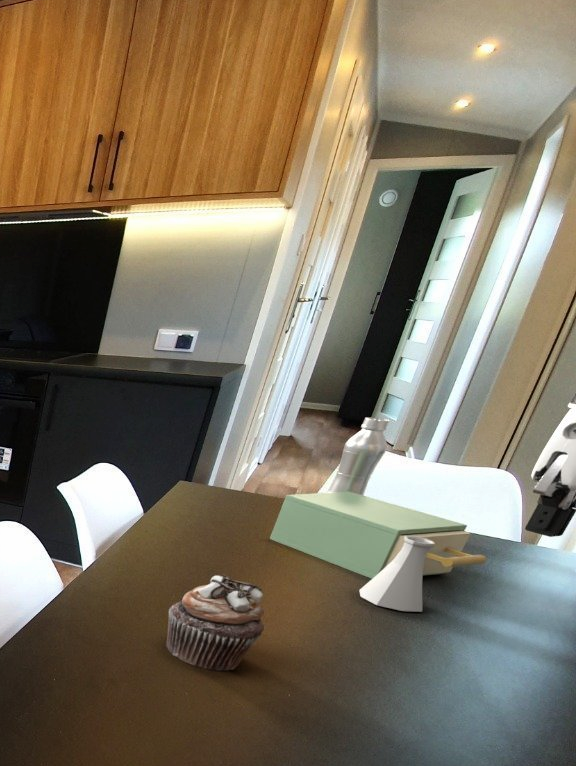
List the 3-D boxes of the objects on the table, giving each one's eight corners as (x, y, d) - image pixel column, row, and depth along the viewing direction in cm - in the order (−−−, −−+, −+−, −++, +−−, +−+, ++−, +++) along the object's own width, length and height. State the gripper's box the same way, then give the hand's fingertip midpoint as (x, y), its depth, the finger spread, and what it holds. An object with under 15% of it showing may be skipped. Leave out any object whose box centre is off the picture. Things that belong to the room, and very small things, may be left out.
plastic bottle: (352, 515, 133) (395, 418, 124) (358, 524, 127) (402, 423, 119) (314, 509, 136) (353, 414, 127) (318, 517, 131) (359, 419, 122)
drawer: (487, 584, 99) (509, 544, 96) (423, 591, 96) (444, 550, 93) (341, 534, 119) (356, 499, 116) (285, 538, 116) (299, 503, 113)
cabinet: (442, 573, 105) (467, 525, 101) (375, 580, 102) (399, 530, 98) (330, 534, 121) (348, 491, 118) (269, 539, 118) (286, 494, 114)
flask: (405, 596, 96) (436, 535, 92) (432, 617, 90) (467, 552, 86) (348, 588, 98) (376, 528, 94) (371, 608, 92) (402, 544, 88)
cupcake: (171, 627, 85) (194, 558, 81) (256, 655, 79) (285, 583, 75) (147, 652, 79) (170, 579, 75) (237, 684, 73) (268, 607, 69)
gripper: (617, 405, 76) (538, 547, 84) (700, 402, 79) (616, 538, 87) (537, 396, 83) (470, 528, 91) (617, 393, 86) (546, 520, 94)
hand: (542, 532), depth 89 cm, fingers closed
